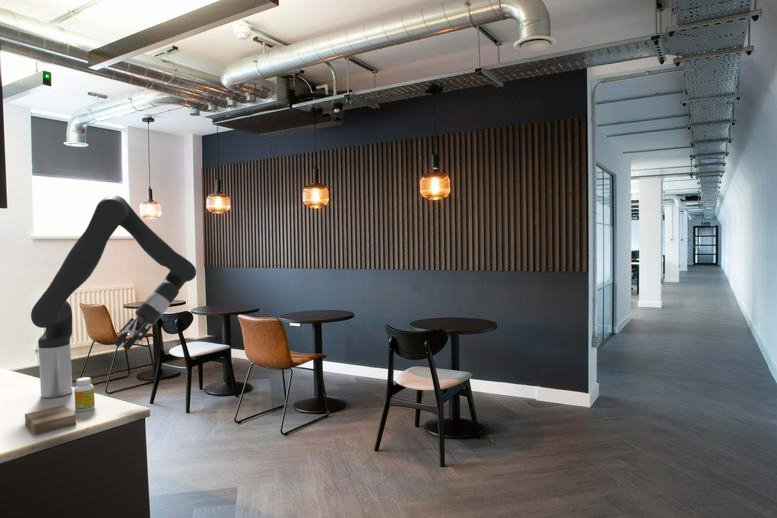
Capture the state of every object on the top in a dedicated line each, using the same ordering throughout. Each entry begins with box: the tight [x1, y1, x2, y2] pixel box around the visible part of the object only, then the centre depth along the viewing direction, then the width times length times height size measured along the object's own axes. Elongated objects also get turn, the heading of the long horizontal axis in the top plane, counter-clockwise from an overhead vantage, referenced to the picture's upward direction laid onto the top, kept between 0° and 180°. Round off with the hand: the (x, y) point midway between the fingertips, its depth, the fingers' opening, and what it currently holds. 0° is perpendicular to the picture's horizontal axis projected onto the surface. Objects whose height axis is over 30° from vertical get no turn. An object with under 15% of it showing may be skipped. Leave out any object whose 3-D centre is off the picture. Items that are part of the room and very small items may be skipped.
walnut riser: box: [24, 404, 77, 436], centre depth 149 cm, size 12×10×3 cm
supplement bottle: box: [73, 376, 96, 412], centre depth 162 cm, size 5×5×10 cm
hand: (120, 346), depth 170 cm, fingers open, 8 cm apart
